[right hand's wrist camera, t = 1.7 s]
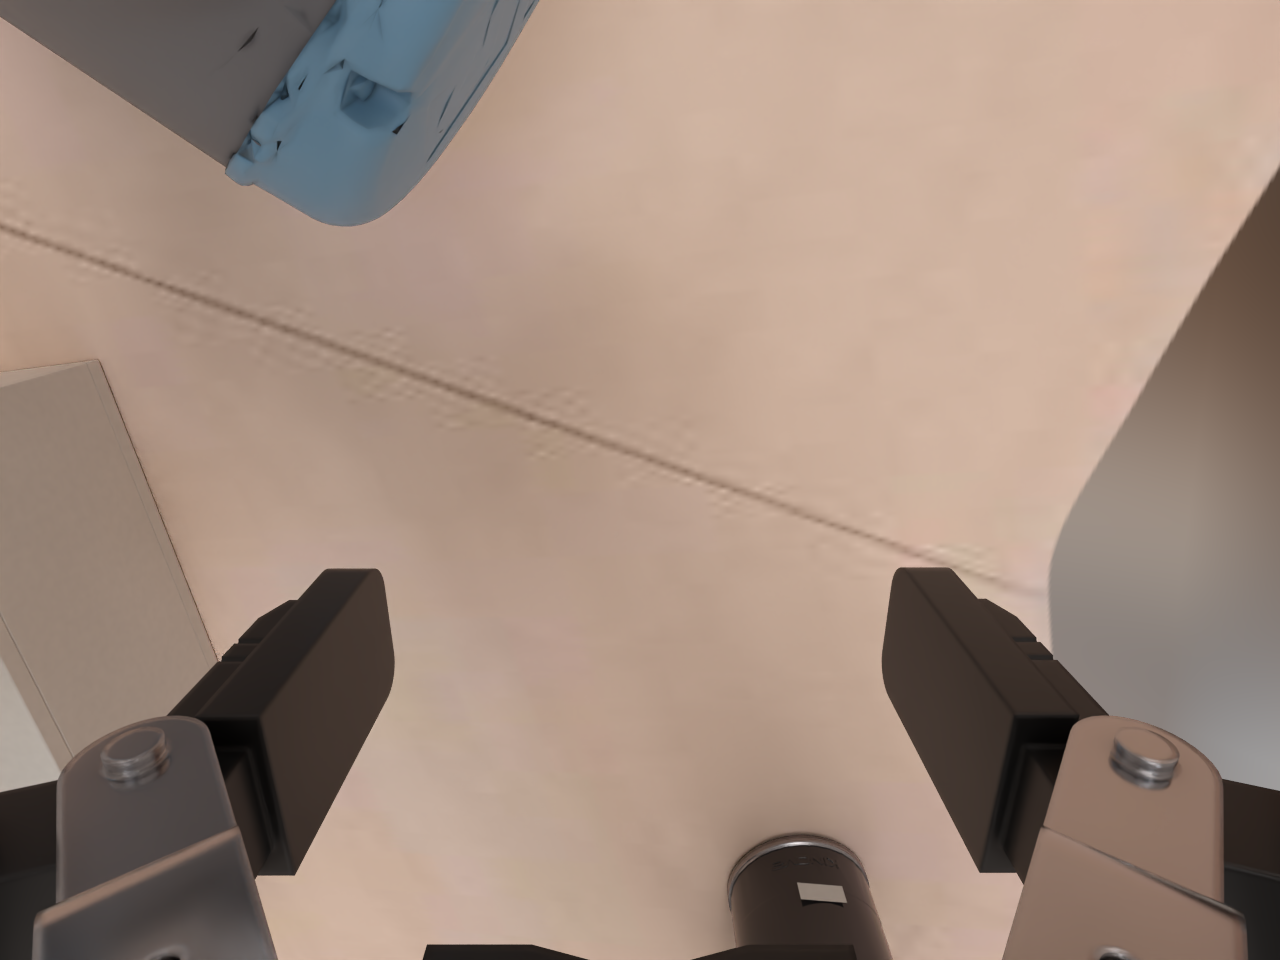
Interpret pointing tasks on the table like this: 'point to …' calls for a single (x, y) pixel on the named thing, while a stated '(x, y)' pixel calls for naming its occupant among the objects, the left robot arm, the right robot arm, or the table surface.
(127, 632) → the tall grey storage box
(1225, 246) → the table surface
